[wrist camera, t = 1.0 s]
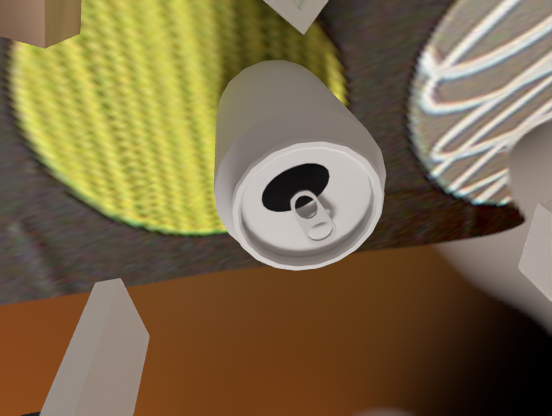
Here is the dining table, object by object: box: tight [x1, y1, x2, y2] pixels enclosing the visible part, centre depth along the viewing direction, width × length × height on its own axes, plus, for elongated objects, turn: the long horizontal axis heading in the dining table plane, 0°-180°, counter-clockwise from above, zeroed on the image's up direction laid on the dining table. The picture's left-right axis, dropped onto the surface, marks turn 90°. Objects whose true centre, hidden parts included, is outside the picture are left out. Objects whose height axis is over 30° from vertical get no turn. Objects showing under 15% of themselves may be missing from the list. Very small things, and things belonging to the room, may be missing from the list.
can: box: [214, 60, 386, 270], centre depth 19 cm, size 8×8×12 cm
